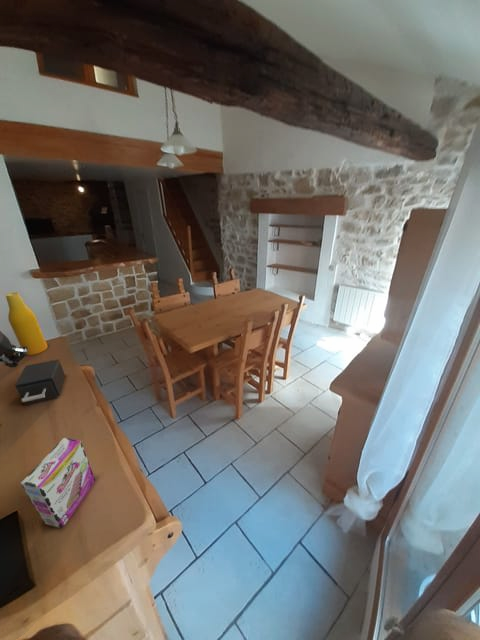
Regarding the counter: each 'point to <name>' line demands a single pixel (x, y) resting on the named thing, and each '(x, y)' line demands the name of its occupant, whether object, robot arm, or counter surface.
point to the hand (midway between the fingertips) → (14, 364)
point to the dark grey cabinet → (43, 374)
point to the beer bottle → (25, 325)
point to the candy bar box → (59, 482)
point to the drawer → (37, 392)
